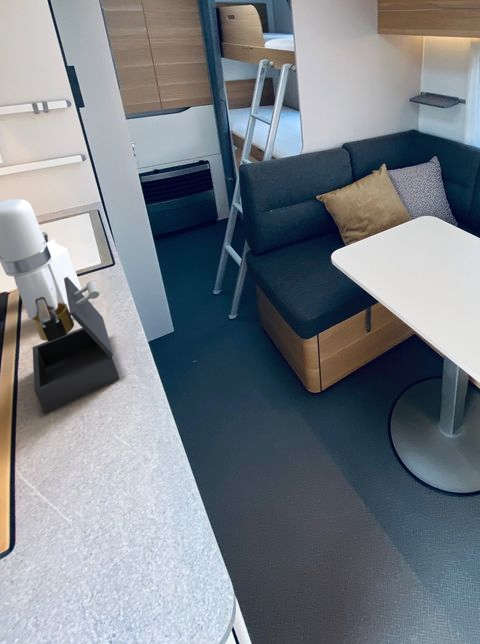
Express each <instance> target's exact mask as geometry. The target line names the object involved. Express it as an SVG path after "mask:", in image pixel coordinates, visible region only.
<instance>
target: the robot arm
mask: <svg viewBox="0 0 480 644" xmlns="http://www.w3.org/2000/svg"><path fill="white" fill-rule="evenodd" d="M42 232H43V231H42V229H41V226H40V224H39V222H38V219H37V216H36V214H35V211H34V209H33V206H32V205H31V203H30V202H29V201H27V200H26V199H23V198H12V199H10V198H9V199H5V200H1V201H0V265H1V266H2V268H3V271H4V273H5V275H7V276H8V277H13V279H14V282H15V285H16V288H17V291H18V294H19V296H20V299H21V301H22V304H23V306H24V309H25V312H26V314H27V318H29V319H31V320H32V319H33V318H34V317H36V316H37V313H38V316H39V319H40V321H41V324H42V329H43V331H44V333H45V335H46V338H47V340H48V341H49V342H50V341H53V340H55V339H58V338H60V337H63V336H65V335H66V331H65V328H64V326H63V323H62V321H61V319H59V318H58V316H57V313H56V309H57V308H58V302H57V294H56V289H55V285H54V281H53V278H52V276H51V273H50V271H49V268H48V266H47V265H48V264H49V263H50V262H51V261H52V256H51V254H50V251H49V249H48V246H47V244H46V241H45V239H44V236H43V234H42ZM47 307H52V309H49V310H48V308H47ZM51 312H52V313H53V316H54V317H53V316H50V314H49V313H51Z"/></svg>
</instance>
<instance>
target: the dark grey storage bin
mask: <svg viewBox="0 0 480 644" xmlns="http://www.w3.org/2000/svg"><path fill="white" fill-rule="evenodd" d="M32 363H33V364H32V366H33V367H32V368H33V388H34V394H35V396H36V399H37V400H38V403H39V405H40V407H41V410H42V412H43V413H44V415H46V414H49V413H51V412H53V411H55V410H57V409H59V408H62V407H64V406H65V405H67V404H70V403H71V402H73V401H76V400H78V399H80V398H82V397H85V396H86V395H89V394H90V393H93V392H94V391H97V390H99V389H101V388H104V387H105V386H107V385H110V384H112V383H114V382H116V381H118V380H120V375H119V371H118V367H117V363H116V361H115V357H114V355H113V356H111V357H109V356H108V355H107V354H106V353H105V352H104V350H103V349H102V348H101V347H100V346H99V345H98V344H97V343H96V342H95V341H94V340H93V339H92V338H91V336H90V335H89V334H88V333H87V332H86V331H85V330H84V329H83V328H82V327H80V328H78V329H75V330H71V331H70V332H68V333H67V334H66V335H65V336H63V337H60V338H58V339H55V340H53V341H50V342H49V341H45V342H41V343H39V344H38V345H37V344H36V345H34V346H32Z"/></svg>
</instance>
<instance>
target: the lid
mask: <svg viewBox="0 0 480 644" xmlns="http://www.w3.org/2000/svg"><path fill="white" fill-rule="evenodd" d="M64 282H65V288H66V294H67V299H68V305H69V311H70V315H71V316H72V317H73V318H72V319H73V320H74V321H75V322H76V323H77V324H78V325H79V326H80V328H83V329H84V330H85V331H86V332H87V333H88V334H89V335H90V336H91V338H92V339H93V340H94V341H95V342H96V343H97V344H98V345H99V346H100V347H101V348H102V349H103V350H104V352H105V353H106V354H107V355H108V356H109V357H111V356H114V352H113V348H112V345H111V341H110V338H109V334H108V330H107V327H106V323H105V321H104V317H103V316H102V315H101V314H100V312H99V311H98V310H97V309H96V308H95V306H94V305H93V304H92V303H91V302H90V301H89V300H90V299H92V300H94V299H98V298H99V297H100V291H99V288H98V285H97V282H96V280H90V281H88V282H87V283H86V286H84V287H81V288H82V289H81V290H79V289H78V288H77V287H76V286H75V285H74V284H73V282H72V281H71V280H70V279H69V278H68V277H66V278H64ZM85 292H87V293H88V295H86V296H85V294H84V293H85ZM82 293H83V294H84V295H83V294H82Z"/></svg>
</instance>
